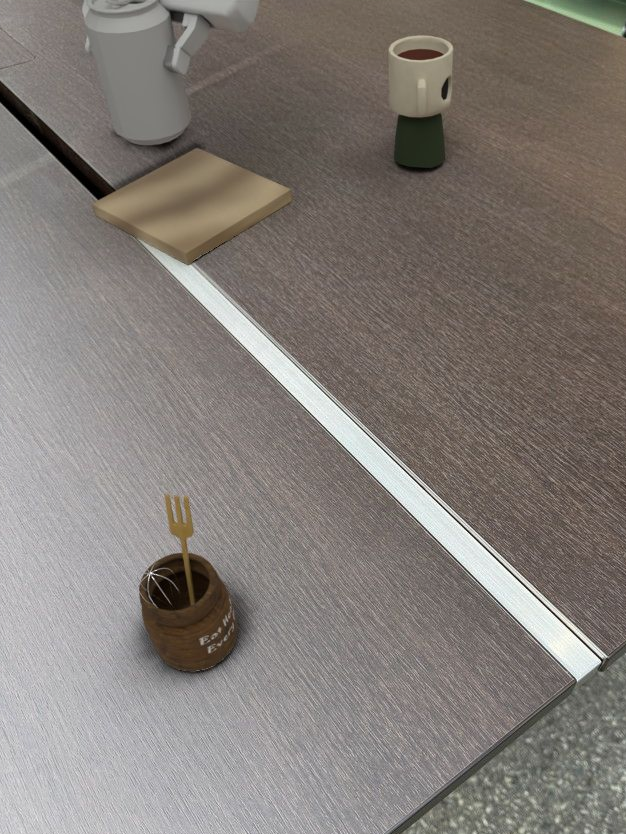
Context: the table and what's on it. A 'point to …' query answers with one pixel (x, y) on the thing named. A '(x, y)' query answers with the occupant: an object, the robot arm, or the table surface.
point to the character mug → (420, 97)
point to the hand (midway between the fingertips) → (134, 63)
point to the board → (192, 204)
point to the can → (137, 69)
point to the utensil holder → (187, 604)
